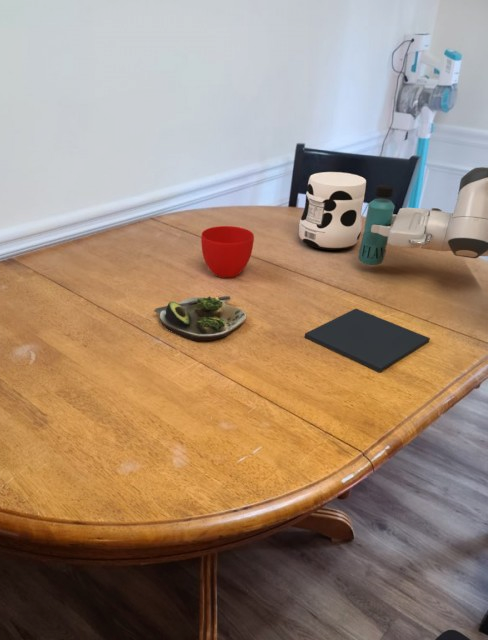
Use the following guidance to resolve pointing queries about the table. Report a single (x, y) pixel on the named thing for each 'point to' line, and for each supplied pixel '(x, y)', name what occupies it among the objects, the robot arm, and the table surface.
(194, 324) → the salad plate
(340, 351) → the mat
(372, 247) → the beverage bottle
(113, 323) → the table surface
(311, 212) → the milk container
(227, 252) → the ceramic cup
